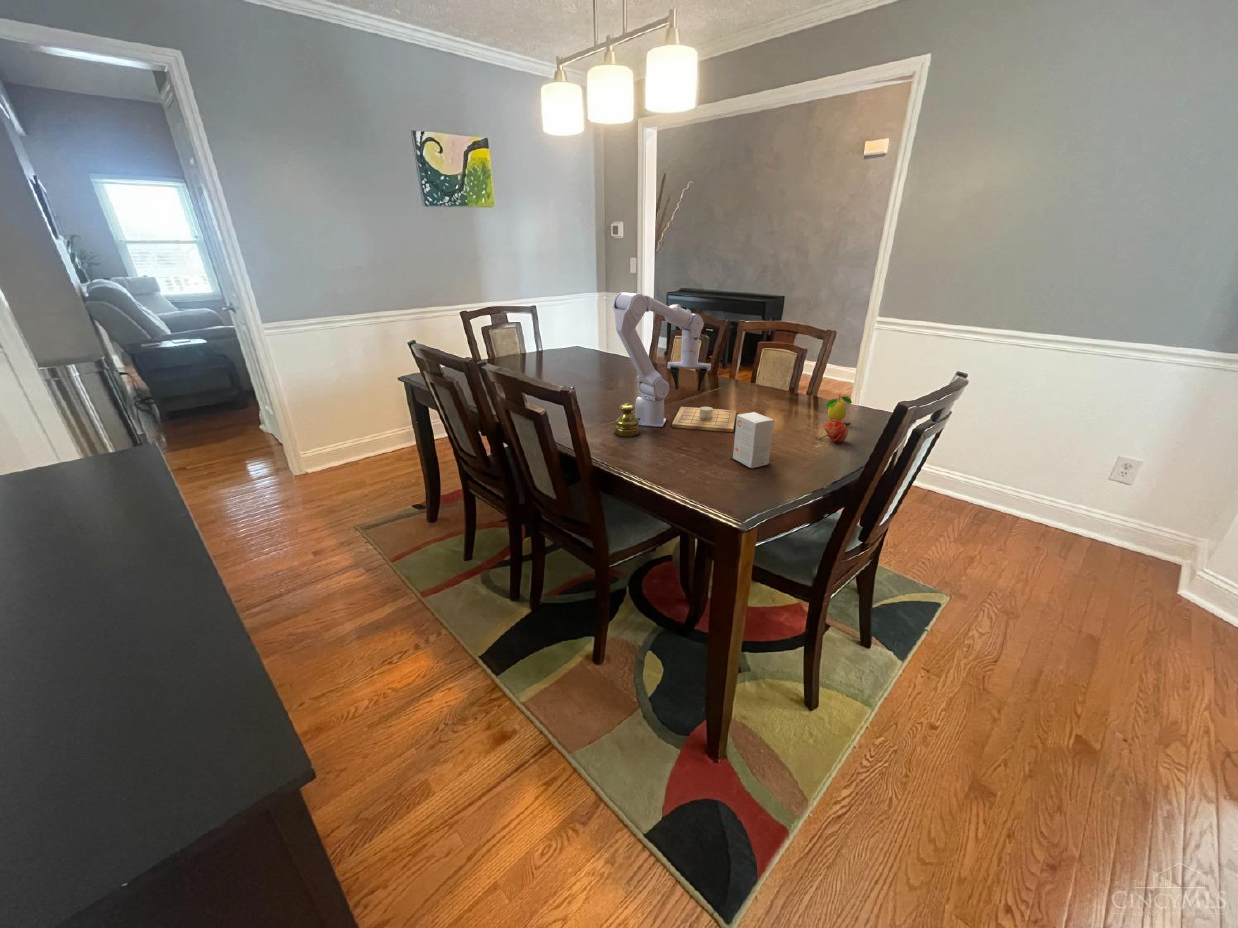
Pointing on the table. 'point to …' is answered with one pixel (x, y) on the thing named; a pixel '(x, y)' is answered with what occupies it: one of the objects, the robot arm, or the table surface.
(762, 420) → the small box
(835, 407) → the yellow pear
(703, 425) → the board
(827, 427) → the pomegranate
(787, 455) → the table surface
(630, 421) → the gold chess pawn
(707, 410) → the white short cylinder
